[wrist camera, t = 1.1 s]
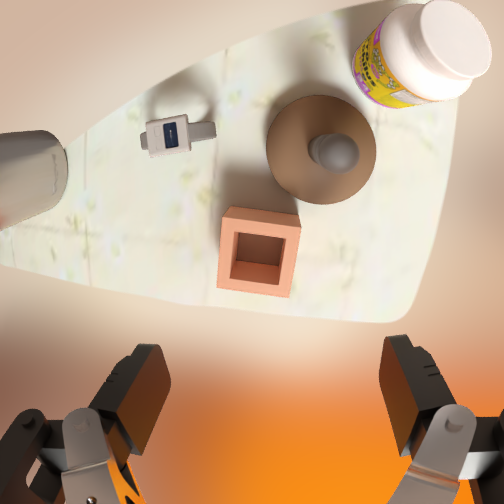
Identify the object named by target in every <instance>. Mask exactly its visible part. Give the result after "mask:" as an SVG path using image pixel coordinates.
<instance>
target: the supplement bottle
mask: <svg viewBox="0 0 504 504" xmlns="http://www.w3.org/2000/svg"><path fill="white" fill-rule="evenodd" d="M491 57H492V50H491V45H490V41H489V38H488V35H487V33H486V31H485V29H484V27H483V26H482V24H481V23H480V22H479V20H478V19H477V18H476V17H475V15H473V14H472V13H471V12H470V11H469V10H468V9H466V8H465V7H464V6H462V5H460V4H458V3H456V2H454V1H451V0H432V1H429V2H428V3H426V4H425V5H424V4H407V5H403V6H400V7H398V8H396V9H395V10H393V11H392V12H391V13H390V14H389V15H388V16H387V17H386V18H385V19H384V20H383V22H382V23H381V24H380V25H379V26H378V27H377V28H376V29H375V30H374V31H373V32H372V33H371V34H370V35H369V37H368V38H367V39H366V40H365V41H364V42H363V43H362V44H361V45H360V46H359V48H358V49H357V50H356V52H355V54H354V57H353V61H352V71H353V76H354V79H355V82H356V84H357V86H358V87H359V89H360V90H361V92H362V93H363V94H364V95H365V96H366V97H367V98H368V99H370V100H371V101H372V102H374V103H376V104H378V105H380V106H383V107H386V108H393V109H398V108H405V107H410V106H415V105H421V104H427V103H432V102H439V101H445V100H450V99H453V98H456V97H458V96H460V95H461V94H463V93H464V92H465V91H466V90H467V89H468V88H469V86H470V85H471V83H472V80H473V78H475V77H479V76H480V75H482V74H484V73H485V72H486V70H487V69H488V68H489V66H490V63H491Z"/></svg>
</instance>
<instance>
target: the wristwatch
mask: <svg viewBox="0 0 504 504" xmlns="http://www.w3.org/2000/svg"><path fill="white" fill-rule="evenodd" d="M213 138H216V128H215V123H214V122H194V123H188V116H187V114H184V115H178V116H173V117H168V118H163V119H159V120H154V121H150V122H146V132H144V133H142V134H141V135H140V139H141V147H142V149H143V150H146V149H149V155H150V157H156V156H162V155H168V154H173V153H179V152H186V151H191V142H195V141H201V140H207V139H213Z"/></svg>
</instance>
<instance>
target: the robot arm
mask: <svg viewBox="0 0 504 504" xmlns="http://www.w3.org/2000/svg"><path fill="white" fill-rule="evenodd" d="M67 173H68V170H67V160H66V156H65V152H64V150H63V147H62V145H61V144H60V142H59V140H58V139H57V138H56V137H55V136H54V135H53V134H51V133H50V132H48V131H44V130H36V131H23V132H11V133H3V134H0V231H2V230H4V229H6V228H8V227H10V226H13V225H15V224H17V223H19V222H22V221H24V220H26V219H29V218H31V217H33V216H36V215H38V214H40V213H43V212H45V211H48V210H49V209H51V208H53V207H54V206H55V205H56V204H57V203H58V202H59V200H60V199H61V197H62V195H63V193H64V190H65V187H66V183H67ZM379 382H380V387H381V391H382V394H383V397H384V400H385V404H386V407H387V411H388V414H389V418H390V421H391V425H392V428H393V432H394V436H395V439H396V443H397V447H398V451H399V455H400V457H402V456H407V455H411V458H412V463H411V465H410V467H409V468H408V470H407V472H406V474H405V475H404V477H403V479H402V480H401V482H400V484H399V486H398V487H397V489H396V491H395V492H394V494H393V495H392V497H391V498H390V500H389V501H388V503H387V504H452V503H453V501H454V499H455V497H456V494H457V492H458V489H459V486H460V482H458V479H468V480H469V483H470V487H471V491H472V495H473V499H474V503H475V504H504V409H503V411H502V412H501V414H500V416H499V417H475V415H474V414H473V412H472V411H471V410H470V409H468V408H467V407H464V406H462V405H458V404H457V403H456V401H455V399H454V397H453V396H452V394H451V392H450V390H449V388H448V386H447V384H446V382H445V380H444V378H443V376H442V375H441V374H440V371H439V369H438V367H437V366H436V363H435V361H434V360H433V358H432V356H431V354H429V353H428V352H427V351H426V350H424V349H423V348H422V347H420V346H419V347H413V345H412V343H411V341H410V340H409V338H408V336H407V335H406V334H403V335H396V336H388V337H385V339H384V344H383V351H382V357H381V363H380V369H379ZM170 387H171V378H170V374H169V371H168V368H167V365H166V362H165V359H164V356H163V352H162V349H161V347H160V346H159V345H157V344H138V345H137V346H136V348H135V349H134V351H133V353H132V354H131V356H126V357H125V358H123V359H122V360H121V361H119V362H118V363H117V364H116V366H115V367H114V369H113V370H112V372H111V374H110V375H109V376H108V377H107V379H106V382H104V383H103V385H102V386H101V388H100V390H99V391H98V392H97V394H96V396H95V397H94V399H93V400H92V402H91V403H90V405H89V407H88V408H79V409H76V410H74V411H72V412H70V413H69V414H68V415H67V416H66V417H65V419H64V420H47V419H46V418H45V416H44V415H43V413H42V412H41V411H40V410H38V409H28V410H25V411H23V412H21V413H20V414H19V415H18V416H17V417H16V418H15V420H14V421H13V423H12V424H11V425H10V427H9V429H8V430H7V431H6V433H5V434H4V436H3V437H2V439H1V440H0V504H64V503H65V501H66V504H147V503H146V502H145V500H144V497H143V495H142V493H141V491H140V488H139V486H138V484H137V481H136V479H135V476H134V474H133V471H132V469H131V466H130V463H129V462H128V460H127V459H128V457H129V454H130V453H131V454H135V455H142V454H143V452H144V449H145V447H146V445H147V442H148V440H149V437H150V435H151V433H152V430H153V428H154V426H155V423H156V421H157V419H158V416H159V414H160V412H161V409H162V407H163V405H164V402H165V400H166V398H167V395H168V393H169V391H170ZM36 458H37V459H38V460H39V461H40V462H41V463H42V464H41V466H40V468H39V469H38V472H37V474H36V475H35V477H34V479H33V481H32V483H31V485H30V487H29V488H28V486H27V484H26V476H27V474H28V472H29V470H30V468H31V467H32V465H33V463H34V461H35V460H36Z"/></svg>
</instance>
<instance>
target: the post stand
mask: <svg viewBox="0 0 504 504" xmlns="http://www.w3.org/2000/svg"><path fill="white" fill-rule="evenodd" d="M266 154H267V160H268V164H269V167H270V170H271V172H272V174H273V176H274V177H275V179H276V180H277V182H278V183H279V184H280V185H281V186H282V187H283V188H284V189H285V190H286V191H287V192H288V193H290V194H291V195H293V196H294V197H296V198H298V199H300V200H302V201H305V202H308V203H313V204H321V205H322V204H333V203H337V202H341V201H343V200H346V199H348V198H350V197H351V196H353V195H354V194H356V193H357V192H358V191H359V190H360V189H361V188H362V187H363V186H364V185H365V184H366V182H367V181H368V179H369V177H370V176H371V174H372V171H373V168H374V165H375V160H376V143H375V138H374V135H373V132H372V130H371V127H370V125H369V124H368V122H367V120H366V119H365V118H364V116H363V115H362V114H361V113H360V112H359V111H358V110H357V109H356V108H354V107H353V106H352V105H350V104H349V103H347V102H345V101H343V100H341V99H338V98H335V97H331V96H325V95H314V96H307V97H304V98H301V99H298V100H296V101H294V102H292V103H291V104H289V105H288V106H286V107H285V108H284V109H283V110H282V111H281V112H280V113H279V114H278V115H277V117H276V118H275V119H274V121H273V123H272V125H271V127H270V130H269V132H268V136H267V141H266Z"/></svg>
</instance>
